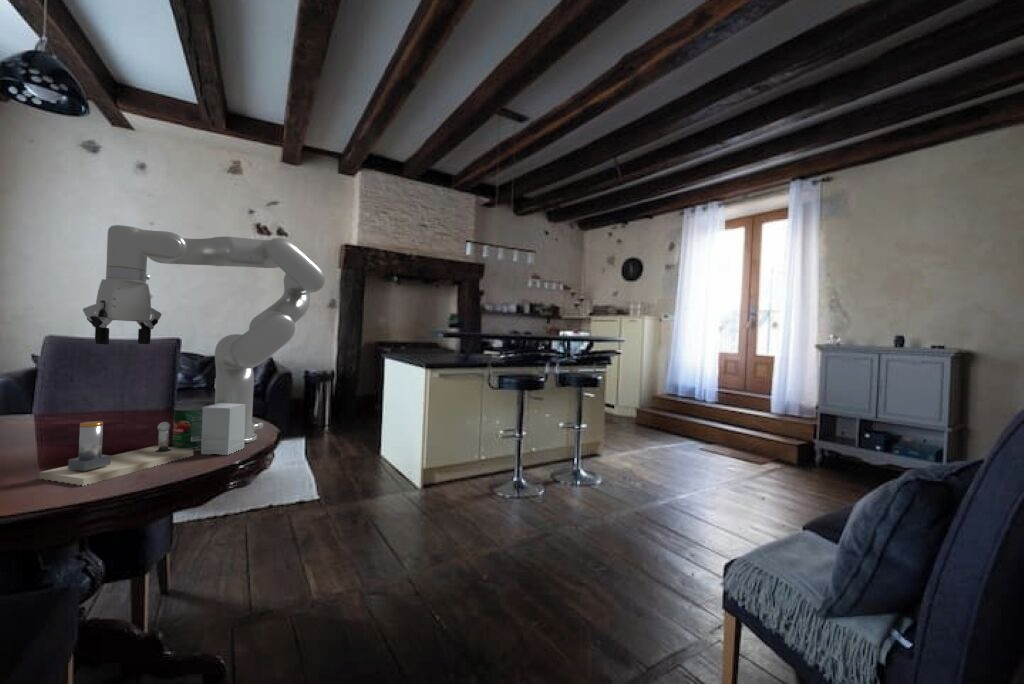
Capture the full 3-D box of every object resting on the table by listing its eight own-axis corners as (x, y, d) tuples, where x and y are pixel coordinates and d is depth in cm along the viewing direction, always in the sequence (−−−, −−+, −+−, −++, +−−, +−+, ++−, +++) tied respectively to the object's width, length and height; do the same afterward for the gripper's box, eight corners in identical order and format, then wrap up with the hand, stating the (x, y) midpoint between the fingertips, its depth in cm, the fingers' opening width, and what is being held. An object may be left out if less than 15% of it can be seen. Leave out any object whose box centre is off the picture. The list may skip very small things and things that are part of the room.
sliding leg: (95, 462, 97) (97, 419, 96) (110, 464, 96) (112, 421, 96) (68, 468, 92) (70, 424, 92) (84, 471, 91) (85, 425, 91)
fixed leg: (164, 448, 111) (165, 420, 111) (172, 449, 110) (173, 421, 110) (153, 451, 108) (155, 422, 108) (162, 452, 108) (163, 423, 108)
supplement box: (245, 448, 120) (247, 403, 120) (227, 455, 112) (229, 407, 112) (218, 447, 120) (220, 402, 120) (199, 454, 112) (201, 406, 112)
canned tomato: (164, 449, 116) (166, 408, 116) (186, 442, 124) (188, 404, 123) (194, 450, 116) (196, 409, 116) (214, 443, 124) (215, 405, 124)
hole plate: (156, 451, 113) (156, 445, 113) (193, 455, 111) (193, 449, 111) (39, 479, 90) (39, 471, 90) (83, 486, 87) (83, 478, 87)
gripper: (149, 280, 117) (147, 343, 117) (73, 270, 100) (71, 343, 100) (172, 281, 116) (169, 344, 116) (98, 271, 99) (96, 345, 99)
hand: (123, 344), depth 108 cm, fingers open, 9 cm apart
